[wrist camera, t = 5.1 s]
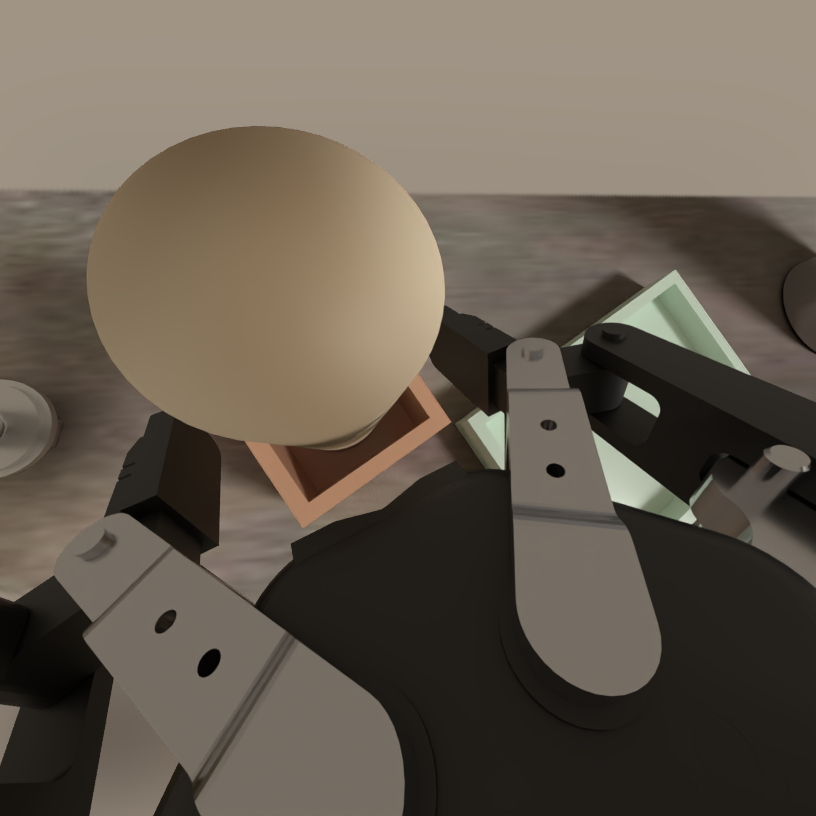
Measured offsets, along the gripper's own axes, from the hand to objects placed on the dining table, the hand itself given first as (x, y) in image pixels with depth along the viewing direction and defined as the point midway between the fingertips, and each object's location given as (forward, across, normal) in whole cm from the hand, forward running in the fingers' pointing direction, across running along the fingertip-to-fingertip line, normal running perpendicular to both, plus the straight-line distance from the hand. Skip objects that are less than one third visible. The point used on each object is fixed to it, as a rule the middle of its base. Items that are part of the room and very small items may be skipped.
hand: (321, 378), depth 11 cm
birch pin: (+6, 0, +6) cm, 9 cm away
